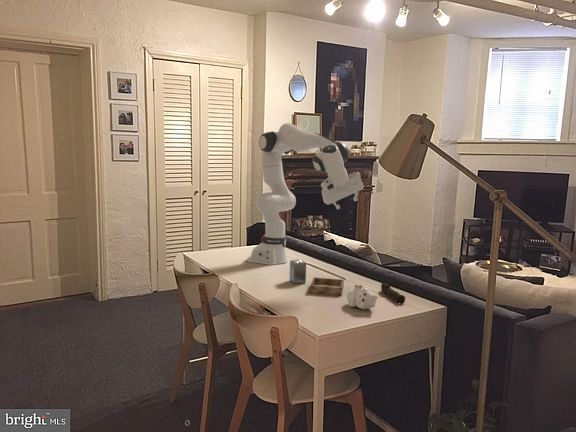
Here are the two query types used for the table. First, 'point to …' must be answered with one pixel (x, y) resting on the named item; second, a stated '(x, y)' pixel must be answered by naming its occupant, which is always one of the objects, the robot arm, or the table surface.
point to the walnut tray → (327, 286)
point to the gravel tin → (298, 271)
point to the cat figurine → (361, 298)
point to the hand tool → (392, 293)
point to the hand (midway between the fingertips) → (347, 204)
